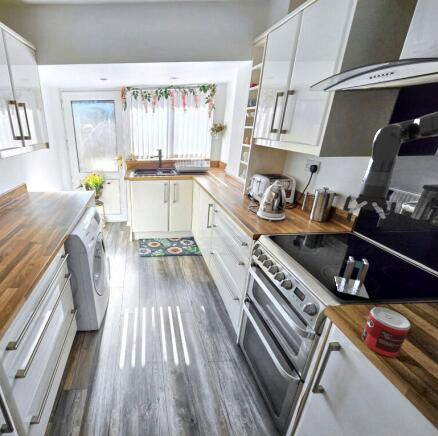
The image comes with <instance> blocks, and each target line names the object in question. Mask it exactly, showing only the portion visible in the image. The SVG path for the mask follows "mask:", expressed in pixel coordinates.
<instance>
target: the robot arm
mask: <svg viewBox="0 0 438 436" xmlns="http://www.w3.org/2000/svg"><path fill="white" fill-rule="evenodd" d="M437 136H438V111H434V112H433V113H428V114H425V115H422V116H420V117H417V118H413V119H409V120H404V121H401V122H395V123H391V124H387V125H384V126H382V127H381V128H380V129H379V130H377V132H376V133H375V135H374V139H373V143H372V149H371V156H370V159H369V162H368V166H367V168H366V171H365V173H364V176H363V178H362V180H361V181H362V182H361V185H360V189H359V192H358V195H357V196H355V195H351V194H349V195H347V196H346V200H345V202H344V205H343V208H342V211H343V212H347V215H346V221H347V223H351V221H352V218H353V214H354V212H355V211H358V210H359V209H362V210H368V211H371V212H374V211H375V212H376V213H377V214H378V215H379V218H378V222H377V225H376V228H379V229H380V227H383V226H384V223H385V220H387V219H393V218H394V215H395V212H396V208H397V204H398V203H397V200H387V196H388V193H389V191H390V187H391V185H392V181H393V178H394V172H395V169H396V166H397V163H398V158H399V157H398V154H399V151H400V148H401V146H402V143H407V142H411V141H414V140H419V139H426V138H427V139H428V138H431V137H437ZM353 201H356V204H354V205H353V206H352V207H351V208H350V207H349V205H350V203H352V202H353ZM385 205H387V207H388V208H389V211H388V213H385V211H384V210H383V208H382V207H383V206H385Z"/></svg>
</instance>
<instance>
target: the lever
mask: <svg viewBox="0 0 438 436" xmlns="http://www.w3.org/2000/svg"><path fill="white" fill-rule="evenodd" d="M347 261H348V260H346V259H342V261H341V263H342V264H344V265H347ZM354 261H355V264H354V267H353V268H356V269H360V268H361V269H362V266H363V262H362V261H357V260H354Z"/></svg>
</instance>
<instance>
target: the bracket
mask: <svg viewBox="0 0 438 436" xmlns="http://www.w3.org/2000/svg"><path fill="white" fill-rule="evenodd" d="M355 261H356V260H355V258H354V256H349V257H348V260H347V264H346V267H345V270H344V273H343V276H342V277H341V276H338V275H334V280H335V285H336V288H337V292H339V293H344V294H349V295H351V296H352V295H353V296H356V297H361V298H363V299H370V297H369V295H368V294H369V293H368V292H367V290H366V287H365V285H364V282H365V278H366V275H367V273H368V270H369V267H370V264H369V262H368V260H367V259H366V258H362V260H361V262H363V266H362V269H361V268H358V269H359V270H358V273H357V276H356V277H355V278H356V279H352V278H351V276H352V273H353V270H354V268H355V267H354V264H355Z"/></svg>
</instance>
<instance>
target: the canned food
mask: <svg viewBox="0 0 438 436" xmlns="http://www.w3.org/2000/svg"><path fill="white" fill-rule="evenodd" d="M410 329H411V323H410V321H409V319H408V318H407V317H405V316H404V315H402V314H400V313H398V312H397V311H395V310H392V309H389V308H385V307H381V306H378V307H377V306H376V307H373V308H372V309H370V312H369V315H368V318H367V320H366V323H365V326H364V329H363V331H362V334H361V340H362V342H363V344H365V345H366V346H367V347H368V348H369V349H370V350H372V351H374V354H376V355H377V356H380V357H383V358H387V359H390V358H391V357H397V356H398V354H399V352H400V350H401V348H402V346H403V343H404V342H405V339H406V338H407V335H408V334H409V331H410Z"/></svg>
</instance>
